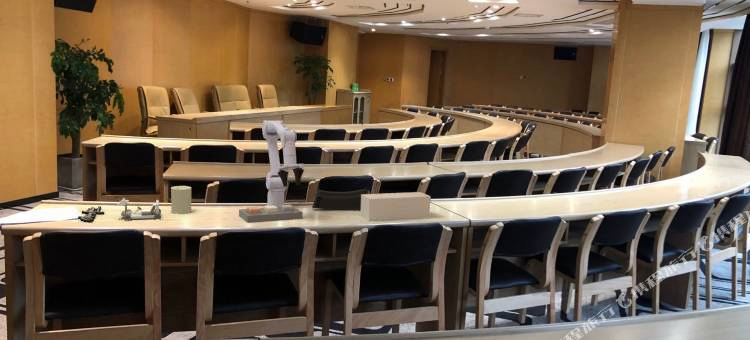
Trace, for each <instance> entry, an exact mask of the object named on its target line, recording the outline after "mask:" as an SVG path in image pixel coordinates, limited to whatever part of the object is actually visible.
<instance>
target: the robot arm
mask: <svg viewBox="0 0 750 340" xmlns="http://www.w3.org/2000/svg"><path fill="white" fill-rule="evenodd" d="M261 124H262V126H261V129H262V135H263V139H265V140H266V143H267V148H268V149H267V150H268V157H269V164H270V165H269V166H270V167H269V168H270V171H269V172H268V173H267V174H266V177H265V179H266V181H265V185H266V188H267V190H268V192H267V204H266V205H265V206H276V207H280V205H285V191H286V189H288V185H289V179H288V177H289V172H290V171H292V172H293V173H294V179H295V182H294V183H295V185H297V186H299V185H301V181H302V176H303V175H304V172H305V169H304V168H305V164H304V163H297V153H296V143H297V138H298V137H297V132H296V130H290V129H289V127H287V125H286V124H285V123H284V121H283V120H264V119H263V121H262V123H261ZM279 139H280V142H281V147H282V152H283V153H282V154H283V155H282V156H283V165H282V166H281V163H280V156H279V155H280V153H279V147H278V146H279V145H278V140H279Z"/></svg>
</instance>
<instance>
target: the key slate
mask: <svg viewBox="0 0 750 340" xmlns="http://www.w3.org/2000/svg"><path fill="white" fill-rule="evenodd" d="M294 207H295V206H294V205H292V204H284V205H280V210H282V211H294Z"/></svg>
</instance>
